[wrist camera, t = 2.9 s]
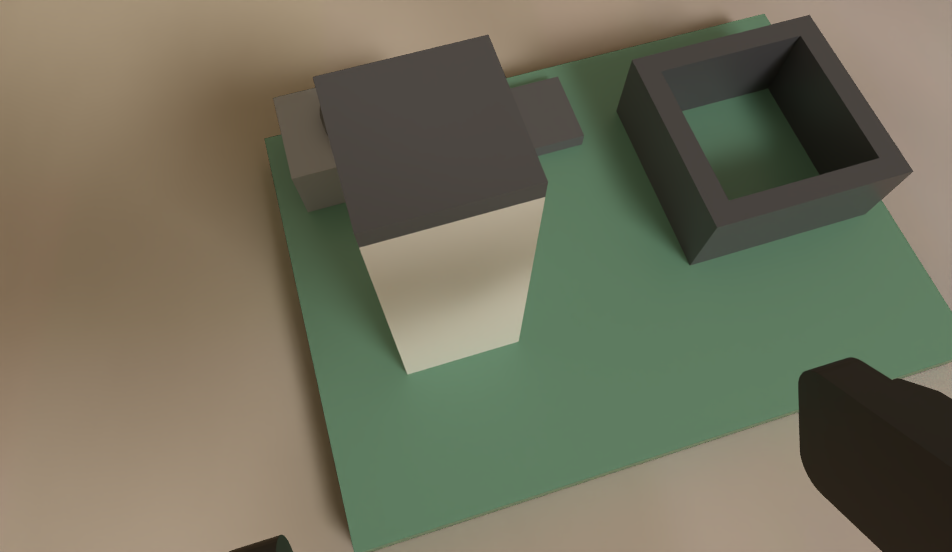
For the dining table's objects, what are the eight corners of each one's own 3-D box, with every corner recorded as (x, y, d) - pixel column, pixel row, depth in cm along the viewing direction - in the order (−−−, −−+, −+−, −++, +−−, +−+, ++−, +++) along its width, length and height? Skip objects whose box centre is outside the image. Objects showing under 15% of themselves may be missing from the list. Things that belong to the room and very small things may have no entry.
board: (362, 554, 22) (335, 553, 18) (275, 159, 28) (239, 89, 24) (948, 363, 24) (1044, 322, 20) (751, 38, 30) (794, -44, 26)
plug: (407, 374, 23) (354, 234, 13) (379, 272, 24) (312, 77, 14) (518, 341, 23) (548, 182, 13) (484, 242, 25) (488, 34, 15)
